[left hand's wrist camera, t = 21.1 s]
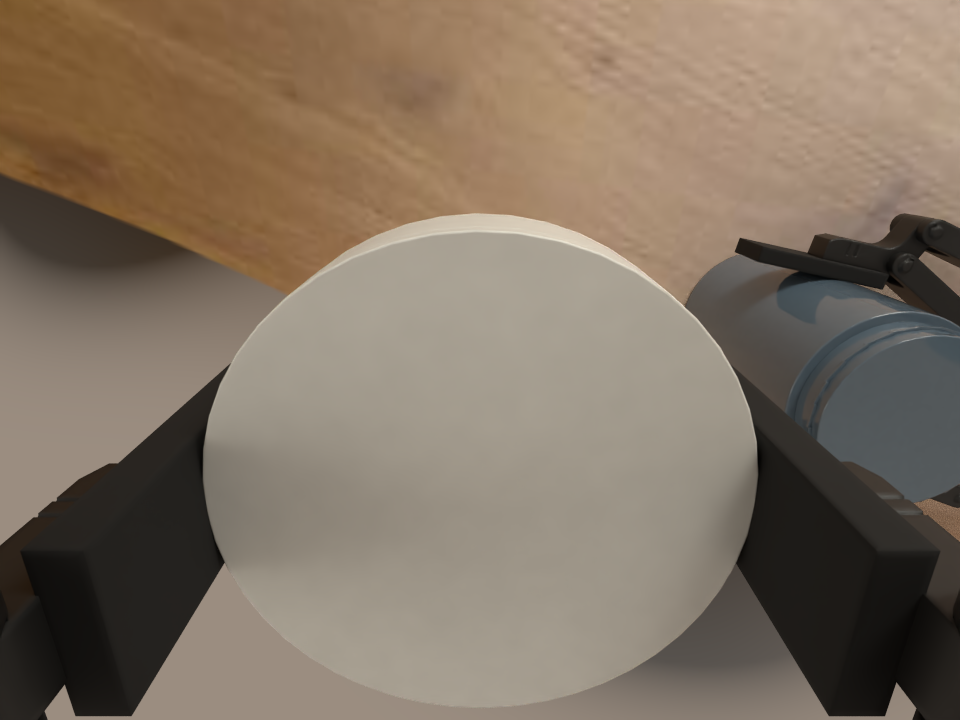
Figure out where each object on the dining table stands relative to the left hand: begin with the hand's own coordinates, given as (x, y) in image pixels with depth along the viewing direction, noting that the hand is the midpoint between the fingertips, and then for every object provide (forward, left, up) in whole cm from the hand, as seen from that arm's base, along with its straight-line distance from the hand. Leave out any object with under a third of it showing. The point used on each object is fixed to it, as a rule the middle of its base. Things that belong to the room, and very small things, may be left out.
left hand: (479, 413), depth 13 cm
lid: (0, 0, +3) cm, 3 cm away
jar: (+17, +6, -24) cm, 30 cm away
